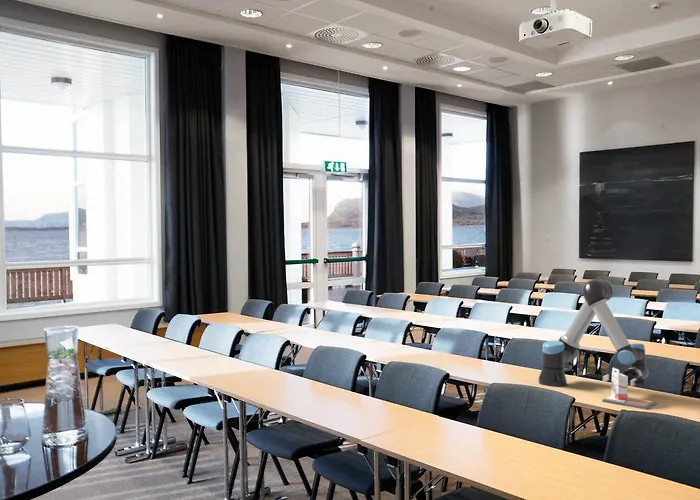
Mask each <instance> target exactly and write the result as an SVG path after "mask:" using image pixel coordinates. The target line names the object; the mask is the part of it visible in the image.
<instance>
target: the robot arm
mask: <svg viewBox="0 0 700 500" xmlns="http://www.w3.org/2000/svg"><path fill="white" fill-rule="evenodd" d="M614 294H615V288H614V285H613V284H612V283H611V282H610V281H608V280H606V279H601V278H600V279H591V280H588V281H586V282H585V284H583V287H582V295H583V299H584V301H583V303H582V305H581V306H580V308H579V310H578V311H577V314H576V315H575V316H574V318H573V320H572V322H571V324H570V326H569V327H568V328H567V330H566V332H565V334H564V335H561V336H560V337H559V339H558V340H550V341H549V340H547V341H545V342H543V344H542V348H541V351H542V354H541V357H542V359H541V360H542V362H541V365H542V366H541V367H542V368H541V371H540V375H539V376H538V383H539V384H541V385H543V386H544V385H545V386H549V387H565V386H567V383H568V381H567V377H566V374H565V369H564V367H565V363H571V362H572V361H574V360H575V359H576V358H577V357H578V354H579V349H580V347H581V346H580V342H581V340H582V338H583V337H584V335H585V333H586V332H587V330H588V328H589V326H590V324H591V322H592V321H593V320H594V318H595V316H596V317H597V319H598V320H599V322H600V324H601V326H602V328H603V329H604V331H605V333H606V334H607V337H608V338H609V340H610V342H611V344H612V345H613V347H614V349H615V351H616V353H617V354H618V355H617V359H618V361H619V363H620V364H622V365H627V366H629V365H630V367H629V368H627V369H625V370H623V372H622V373H621V372H620V373H621V374H623V375H625V376H628V385H629V384H630V387H633V386H636V385H642V386H644V385H645V379H646V378H647V377H648V376H649V369H648V368H647V366H646V349H645V348H646V347H645V345H644V344H643V343H630V342H629V340H628V338H627V337H626V335H625V333H624V331H623V330H622V328H621V326H620V324H619V322H618V321H617V319H616V317H615V316H614V314H613V312H612V311H611V309H610V307H609V304H607V301H609V300H610V299H612V298H613V297H614ZM615 372H616V373H617V371H615ZM609 380H612V372H609V373H608V372H605V373H602V382H607V381H609Z"/></svg>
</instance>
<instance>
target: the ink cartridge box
mask: <svg viewBox="0 0 700 500" xmlns="http://www.w3.org/2000/svg"><path fill="white" fill-rule="evenodd" d="M616 372H617V373H616ZM611 373H612V379H611V387H610V388H611V389H610V390H611V392H610V393H611V394H610V396H612V397H614V398H616V399H618V400H627V397H628V394H629V393H628V391H629V389H628V385H629V383H628V376H625V375H623V374H621V372H620V369H618V368H616V367H612V371H611Z"/></svg>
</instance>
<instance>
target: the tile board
mask: <svg viewBox="0 0 700 500" xmlns="http://www.w3.org/2000/svg"><path fill="white" fill-rule="evenodd" d="M601 401H602V403H609V404H613V405H619V406H623V407H624V406H625V407H631V408H636V409H643V410H648V409H650V408H653V407H655V406H656V405H658V402H656V401H652V400H648V399H642V398H636V397H635V398H634V397H629V396H627V400H618V399H616V398H614V397H612V396H611V395H610V396H607V397H605V398H603V399H602V400H601Z"/></svg>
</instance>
